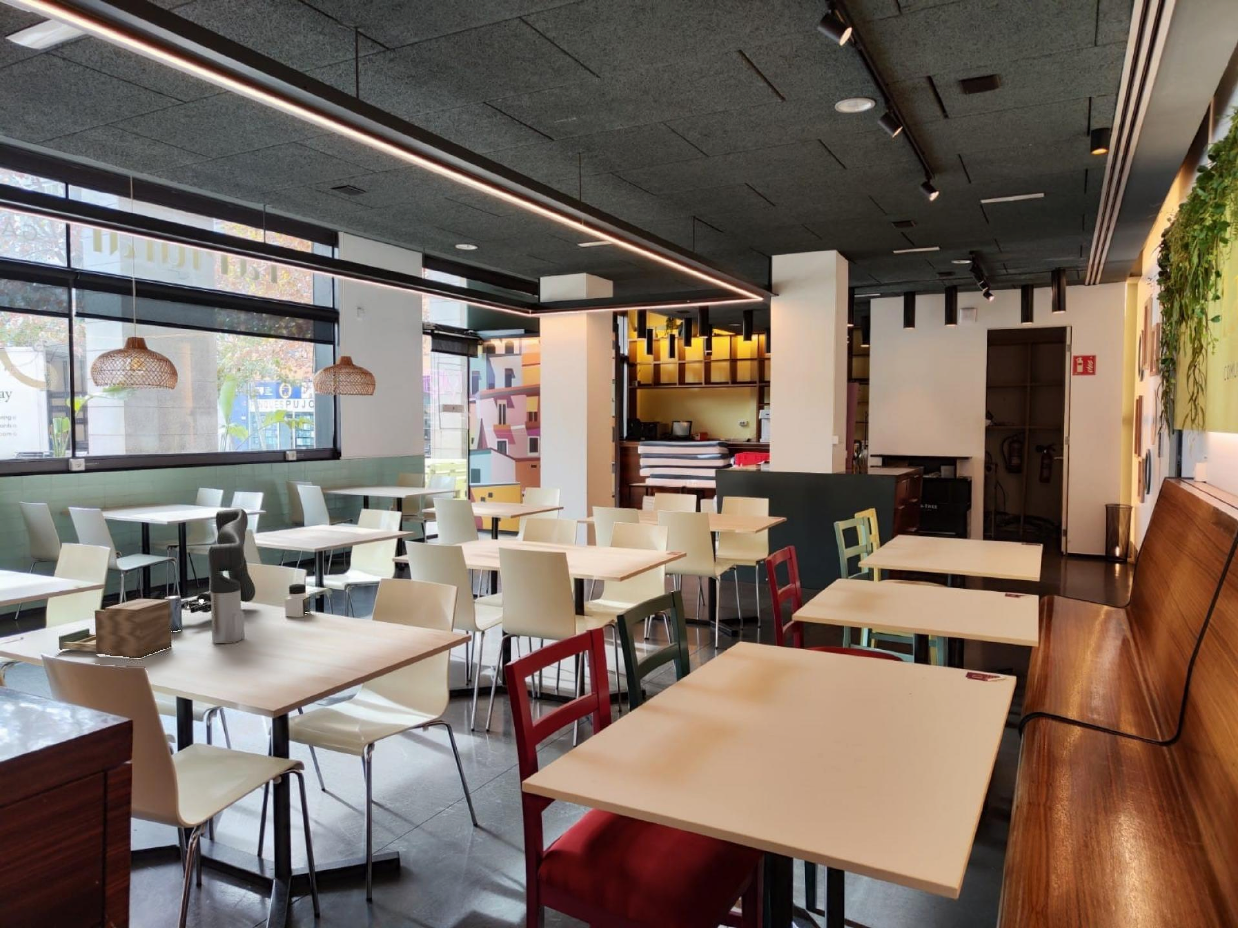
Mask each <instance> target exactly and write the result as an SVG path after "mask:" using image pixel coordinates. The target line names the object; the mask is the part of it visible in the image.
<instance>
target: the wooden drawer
mask: <svg viewBox="0 0 1238 928" xmlns="http://www.w3.org/2000/svg"><path fill="white" fill-rule="evenodd" d="M90 631H91V630H90V628H83V629H81V630H77V631H74V632H70V633H66V634H64V635H63V634H62V635H60V636H58V650H59V649H60V650H62V649H70V650H74V651H84V652H85V651H88V652H96V633H90Z"/></svg>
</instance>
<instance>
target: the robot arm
mask: <svg viewBox="0 0 1238 928" xmlns="http://www.w3.org/2000/svg"><path fill="white" fill-rule="evenodd" d="M248 523H249V519H248V514H247V512H246V510H244V509H243V508H233V509H232V508H231V509H222V510H218V511H217V512H216V514H215V524H216V526H215V527H216V531H217V536H216V543H217V544H212V545H210V547H209V549H208V564H209V576H210V577H209V578H210V590H209V591H205V592H201V593H200V594H198V595H197V597H196V598H192V599H190V600H189V599H183V600H181V608H182V611H183V610H184V611H190V613H191V614H195V613H197V612H202V613H206V614H207V613H211V639H212V640H211V641H212V644H216V643H226V644H231V643H234V644H235V643H238V642H240V641H242V640H244V639H245V637H246V636H245V614H244V613H245V612H244V610H242V602H243V603H249V602H251V601H253V599H254V598H255V596H256V586H255V583H254V581H253V580H252V577H251V576H250V573H249V571H248V569H249V568H248V564H247V559H246V556H245V550H244V548H245V544H246V543H245V542H246V532H247V528H248ZM222 572H227V573H228V577H226V576H224V575H223V574H222ZM243 638H244V639H243ZM241 639H242V640H241ZM237 641H238V642H237Z"/></svg>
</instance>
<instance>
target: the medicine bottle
mask: <svg viewBox="0 0 1238 928" xmlns="http://www.w3.org/2000/svg"><path fill="white" fill-rule="evenodd" d="M284 609H285V611H284V612H285V614H284V615H285V617H286V616H304V617H306V616H305V614H308V613H305V612H310V613H311V595H310V594H307V588H306V584H304V583H293V584H291V585H289V586H288V597H286V598H285V599H284ZM308 615H309V614H308Z"/></svg>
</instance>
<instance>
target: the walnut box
mask: <svg viewBox="0 0 1238 928" xmlns="http://www.w3.org/2000/svg"><path fill="white" fill-rule="evenodd" d="M94 625H95V628H94V629H95V631H94V632H95V634H96V651H95V653H96V654H105V655H110V656H123V657H129V658H142V657H144V656H147V655H149V654H153V653H155V652H158V651H160V650H163V649H167V648H169V647H173V646H172V633H171V614H170V600H164V599H155V598H154V599H152V598H137V599H133V600H128V601H125V602H121V603H118V604H115V605H110V606H107V607H105V608H104V609H95V610H94ZM167 650H168V649H167ZM96 654H95V655H96ZM153 655H154V654H153ZM142 659H143V658H142Z"/></svg>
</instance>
